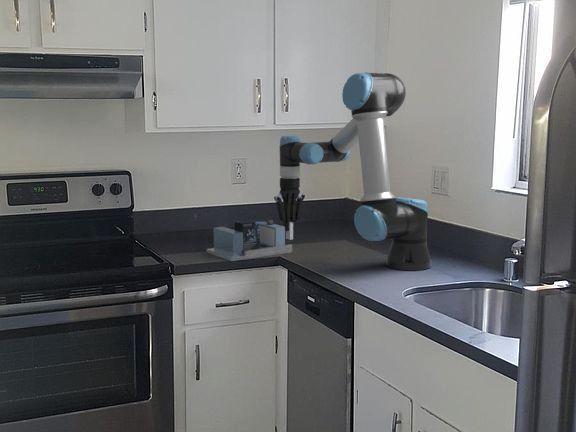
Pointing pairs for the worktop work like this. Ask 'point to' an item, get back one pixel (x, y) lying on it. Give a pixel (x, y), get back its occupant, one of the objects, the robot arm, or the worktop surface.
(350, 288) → the worktop surface
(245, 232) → the box
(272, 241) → the block
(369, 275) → the worktop surface
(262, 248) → the vise base
